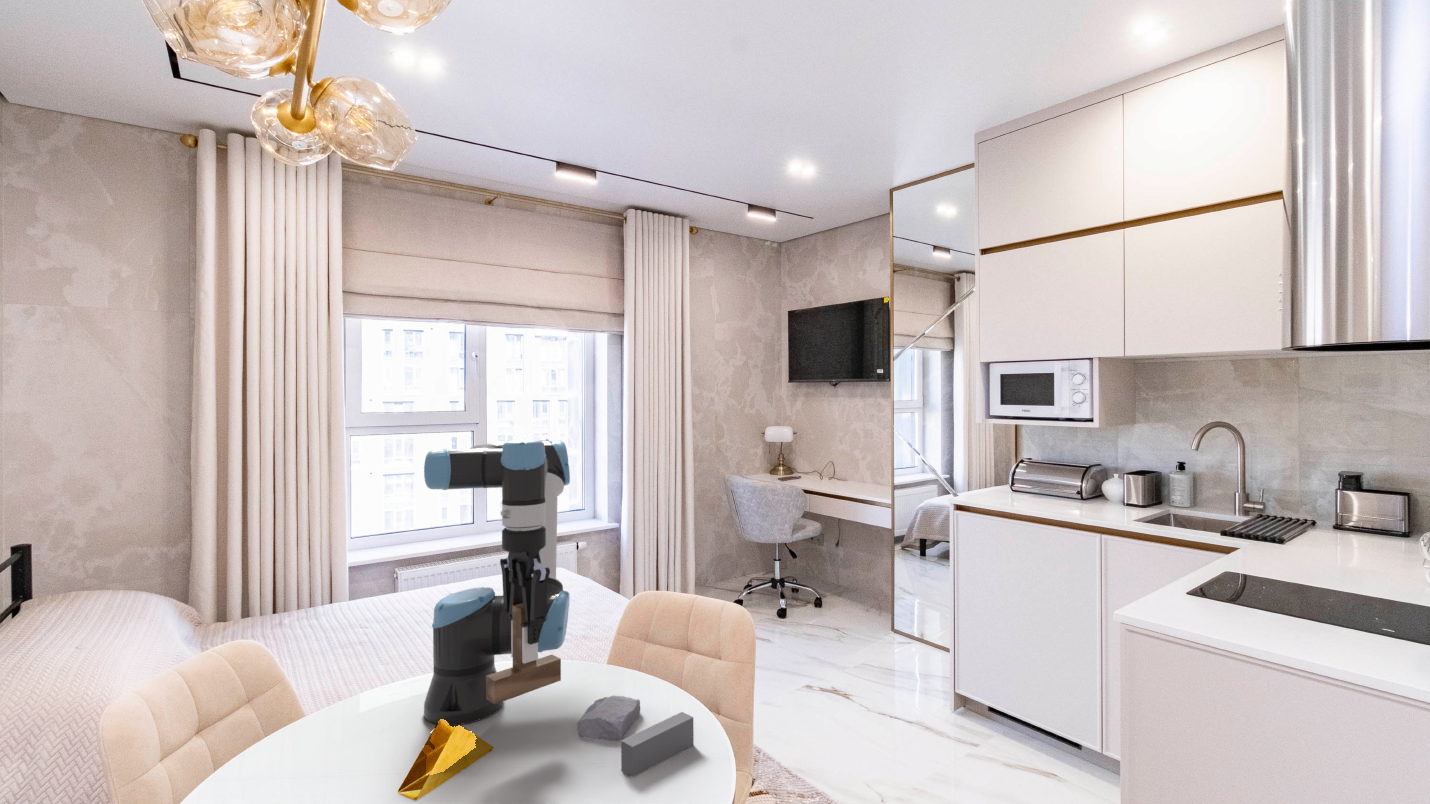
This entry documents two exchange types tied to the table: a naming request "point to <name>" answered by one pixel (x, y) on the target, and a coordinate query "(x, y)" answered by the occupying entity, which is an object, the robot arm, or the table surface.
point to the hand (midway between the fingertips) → (524, 657)
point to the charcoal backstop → (656, 744)
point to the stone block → (609, 718)
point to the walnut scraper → (521, 669)
